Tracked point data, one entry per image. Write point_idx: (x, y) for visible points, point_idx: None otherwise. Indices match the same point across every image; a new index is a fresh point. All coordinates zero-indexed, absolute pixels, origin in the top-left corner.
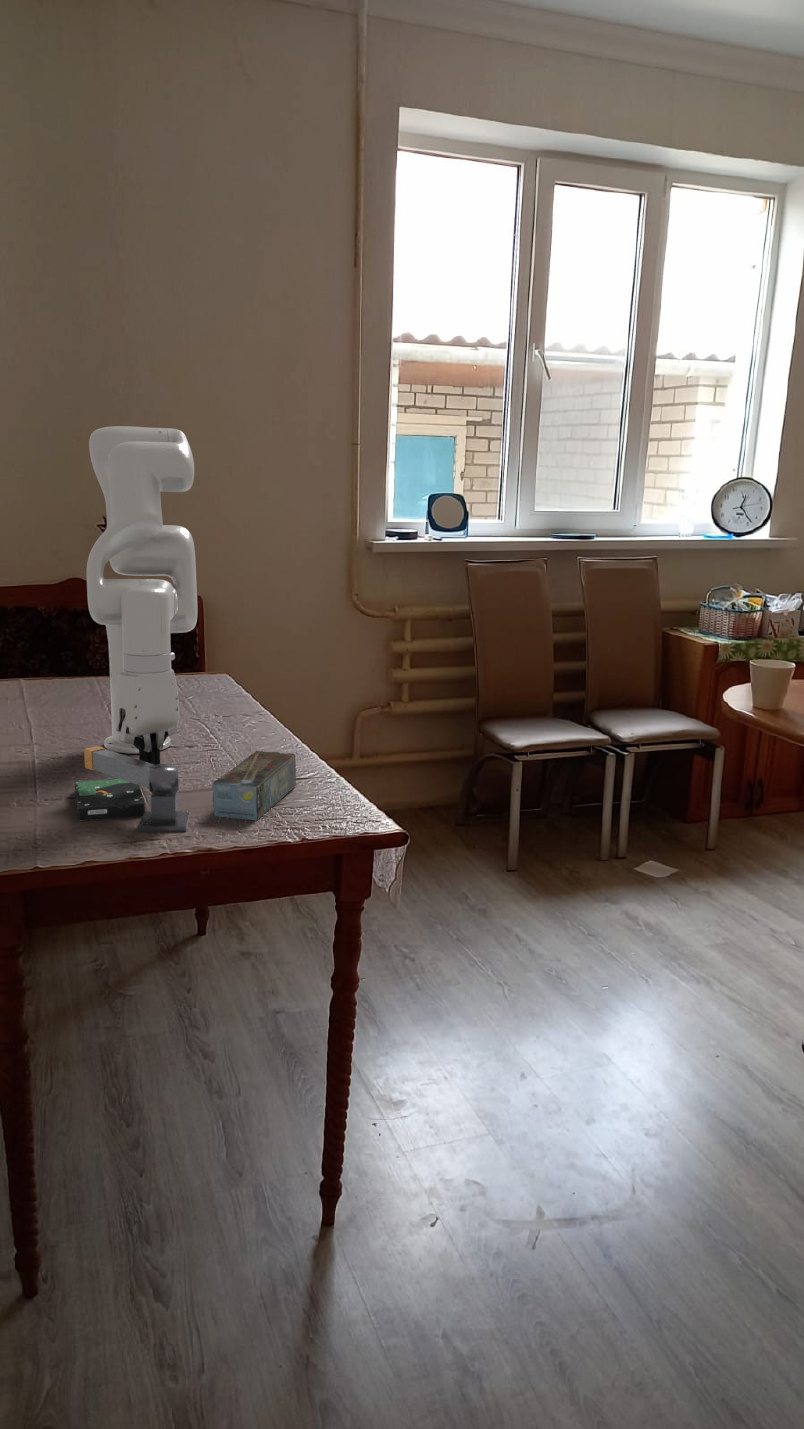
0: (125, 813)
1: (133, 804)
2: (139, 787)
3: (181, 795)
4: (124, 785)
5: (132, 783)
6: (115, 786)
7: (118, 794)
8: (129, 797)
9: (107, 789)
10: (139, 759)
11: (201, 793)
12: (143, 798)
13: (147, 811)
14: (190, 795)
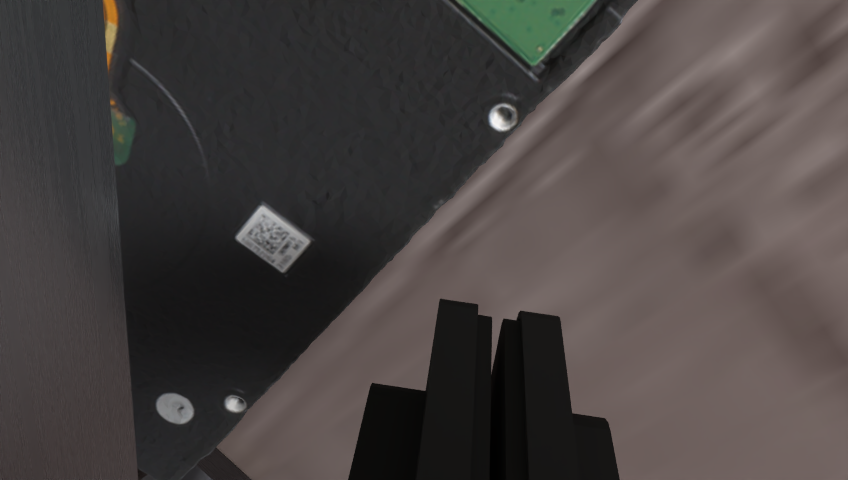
0: None
1: None
2: (418, 223)
3: (706, 356)
4: (371, 57)
5: (477, 74)
6: (281, 5)
7: (147, 212)
8: (171, 331)
9: (159, 11)
10: (354, 457)
11: (825, 435)
12: (231, 428)
13: (196, 465)
14: (740, 404)
